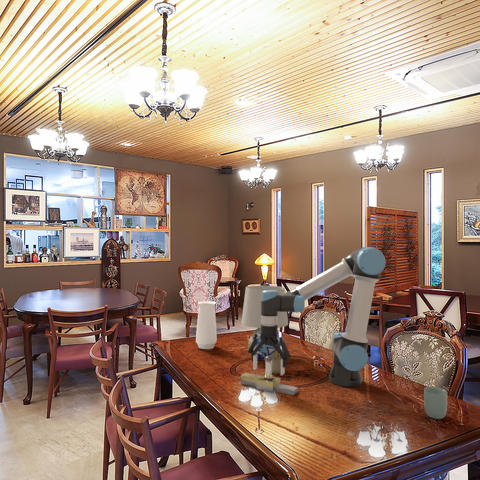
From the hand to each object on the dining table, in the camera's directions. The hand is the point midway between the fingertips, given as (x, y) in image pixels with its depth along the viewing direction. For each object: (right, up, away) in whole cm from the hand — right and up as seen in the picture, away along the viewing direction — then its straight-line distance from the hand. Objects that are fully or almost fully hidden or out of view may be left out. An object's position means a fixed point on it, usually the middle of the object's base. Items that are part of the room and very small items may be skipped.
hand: (268, 371), depth 173 cm
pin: (0, -7, 0) cm, 7 cm away
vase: (-34, -8, +68) cm, 77 cm away
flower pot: (+5, -8, +22) cm, 24 cm away
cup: (+61, -8, -28) cm, 68 cm away
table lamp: (+1, -8, +49) cm, 50 cm away
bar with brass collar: (0, -7, 0) cm, 7 cm away
